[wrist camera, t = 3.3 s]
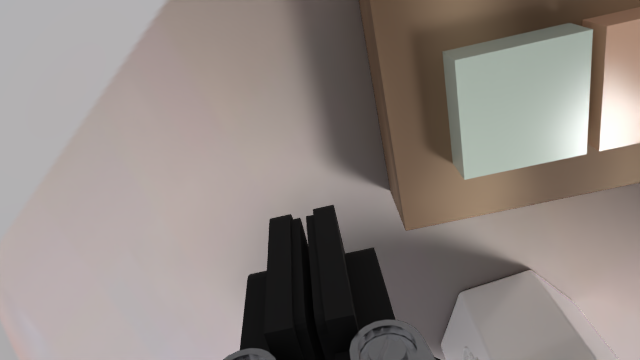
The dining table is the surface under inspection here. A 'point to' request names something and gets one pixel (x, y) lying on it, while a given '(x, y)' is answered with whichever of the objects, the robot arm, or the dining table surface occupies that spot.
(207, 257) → the dining table surface
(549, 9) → the tan cardboard box
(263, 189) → the dining table surface
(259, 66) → the dining table surface
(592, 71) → the terracotta tile
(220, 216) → the dining table surface
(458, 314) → the jar
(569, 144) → the sage tile
